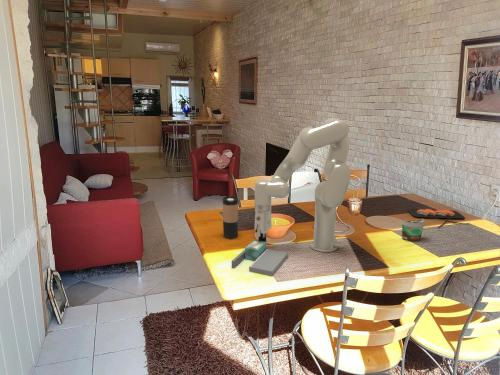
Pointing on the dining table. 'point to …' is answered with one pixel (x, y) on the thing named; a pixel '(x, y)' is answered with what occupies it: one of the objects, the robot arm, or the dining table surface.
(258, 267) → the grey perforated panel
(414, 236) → the food container
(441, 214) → the sushi plate
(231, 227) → the travel mug
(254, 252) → the teal rectangular box
